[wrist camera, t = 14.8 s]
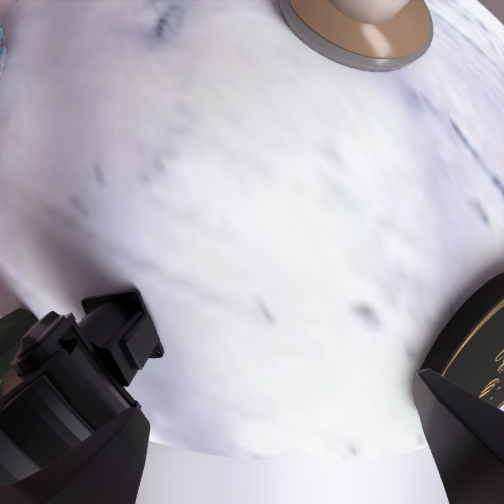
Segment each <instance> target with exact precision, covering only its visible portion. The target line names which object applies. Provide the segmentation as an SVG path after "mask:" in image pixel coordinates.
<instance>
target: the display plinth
mask: <svg viewBox="0 0 504 504" xmlns="http://www.w3.org/2000/svg"><path fill="white" fill-rule="evenodd" d="M279 6H280V10H281V13H282V15H283V17H284V19H285V21H286V23H287V24H288V26H289V27H290V29H291V30H292V31H293V32H294V33H295V35H296V36H297V37H299V38H300V39H301V40H302V41H303V42H304V43H305V44H306V45H308V46H309V47H310V48H311V49H313V50H315V51H316V52H318V53H319V54H321V55H323V56H324V57H326V58H328V59H330V60H332V61H335V62H337V63H339V64H342V65H345V66H348V67H351V68H354V69H359V70H363V71H371V72H387V71H394V70H398V69H401V68H403V67H406V66H407V65H409V64H411V63H412V62H414V61H415V60H417V59H418V58H420V57H421V56H422V55H423V54H424V53H425V52H426V51H427V50H428V48H429V47H430V44H431V42H432V38H433V22H432V18H431V15H430V12H429V10H428V7H427V5H426V3H425V2H424V0H409V2H408V3H407V4H406V5H405V6H404V7H403V8H402V9H401V10H400V12H399V13H398V14H397V15H396V16H395V17H394V18H393V19H392V20H391V21H390V22H388V23H385V24H378V25H374V24H366V23H362V22H359V21H356V20H354V19H352V18H350V17H348V16H346V15H345V14H343V13H342V12H340V11H339V10H338V9H337V8H335V7H334V5H333V4H332V3H331V2H330V1H329V0H279Z"/></svg>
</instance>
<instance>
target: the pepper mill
mask: <svg viewBox="0 0 504 504" xmlns="http://www.w3.org/2000/svg"><path fill="white" fill-rule="evenodd" d="M329 1H330V2H331V3H332V4H333V5H334V7H335V8H337V9H338V10H339V11H340V12H342V13H343V14H345V15H346V16H348V17H350V18H352V19H354V20H356V21H359V22H362V23H366V24H374V25H378V24H385V23H388V22H390V21H391V20H392V19H393V18H394V17H395V16H396V15H397V14H398V13H399V12H400V10H401V9H402V8H403V7H404V6H405V5H406V4H407V3H408V2H409V0H329Z"/></svg>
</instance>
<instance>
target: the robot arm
mask: <svg viewBox="0 0 504 504" xmlns="http://www.w3.org/2000/svg"><path fill="white" fill-rule="evenodd" d="M133 294H134V295H135V296H136V298H135V297H134V296H133ZM81 303H82V306H83V308H84V311H85V313H86V316H85V317H84V318H83V319H82V320H81V321H80V322H79V323H78V324H77V322H76V321H75V320H76V318H75V317H74V315H73V314H72V313H69V314H67V315H65V316H64V315H62V316H61V315H59V314H57V313H56V312H54V311H51V312H49V313H48V314H47V315H45V316H44V317H43V318H42V319H40V320H39V321H38V322H37V323H36V324H34V325H33V326H32V327H31V328H30V330H29V331H28V332H27V333H26V334H25V335H24V336H23V337H22V339H21V340H20V349H19V350H18V352H17V353H16V355H15V357H14V358H13V360H12V362H11V365H12V367H13V368H14V370H13V371H12V372H11V373H10V374H9V375H8V376H7V377H5V378H4V379H3V381H2V382H1V385H0V504H135V502H136V498H137V494H138V490H139V485H140V481H141V477H142V474H143V470H144V465H145V461H146V454H147V447H148V441H149V434H150V423H149V421H148V420H147V418H146V417H145V415H144V414H143V412H142V411H141V405H140V404H139V403H138V401H136V400H134V399H133V398H132V396H131V395H130V394H129V393H128V392H127V390H126V389H125V388H124V387H128V386H129V385H130V383H131V381H132V380H133V378H134V376H135V375H136V373H137V372H138V370H141V369H142V368H143V366H144V365H145V363H146V361H147V360H148V358H161V357H162V356H163V355H164V349H163V347H162V345H161V343H160V339H159V336H158V334H157V332H156V329H155V327H154V324H153V322H152V320H151V317H150V315H149V314H148V312H147V310H146V307H145V305H144V302H143V299H142V297H141V294H140V293H139V291H138V290H135V289H133V290H127V291H121V292H116V293H110V294H104V295H98V296H92V297H86V298H84V299H83V300H82V302H81ZM86 303H87V304H88V305H87V304H86ZM157 351H158V352H160V353H158V352H157ZM123 386H124V387H123ZM413 396H414V399H415V403H416V406H417V410H418V413H419V417H420V420H421V424H422V428H423V431H424V434H425V437H426V440H427V442H428V445H429V447H430V450H431V452H432V455H433V458H434V460H435V463H436V466H437V468H438V471H439V474H440V477H441V480H442V482H443V485H444V488H445V491H446V494H447V498H448V500H449V504H504V411H502V410H500V409H498V408H497V407H495V406H493V405H491V404H490V403H488V402H486V401H484V400H483V399H481V398H479V397H477V396H476V395H474V394H472V393H470V392H469V391H467V390H465V389H464V388H462V387H460V386H458V385H457V384H455V383H453V382H451V381H450V380H448V379H446V378H445V377H443V376H441V375H439V374H438V373H436V372H434V371H433V370H431V369H424V370H421V371H418V372H417V373H416V376H415V382H414V387H413Z"/></svg>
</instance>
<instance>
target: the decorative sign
mask: <svg viewBox="0 0 504 504" xmlns="http://www.w3.org/2000/svg"><path fill="white" fill-rule="evenodd" d="M424 369H431V370H433V371H434V372H436V373H438V374H439V375H441V376H443V377H445V378H446V379H448V380H450V381H451V382H453V383H455V384H457V385H458V386H460V387H462V388H464V389H465V390H467V391H469V392H470V393H472V394H474V395H476V396H477V397H479V398H481V399H483V400H484V401H486V402H488V403H490V404H491V405H493V406H495V407H497V408H498V409H499V408H500V407H501V406H502V405H503V404H504V273H502V274H500V275H498V276H496V277H494V278H493V279H491V280H490V281H488V282H487V283H486V284H484V285H483V286H482V287H481V288H480V289H478V290H477V291H476V292H475V293H474V294H473V295H472V296H471V297H470V298H469V299H468V300H467V301H466V302H465V303H464V304H463V305H462V306H461V307H460V309H459V310H458V311H457V312H456V313H455V315H454V316H453V317H452V318H451V320H450V321H449V322H448V324H447V325H446V326H445V328H444V329H443V331H442V332H441V333H440V335H439V336H438V338H437V340H436V341H435V343H434V344H433V346H432V348H431V350H430V351H429V353H428V355H427V357H426V359H425V361H424V363H423V365H422V367H421V369H420V371H421V370H424ZM414 400H415V399H414ZM415 404H416V403H415ZM416 407H417V406H416Z"/></svg>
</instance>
